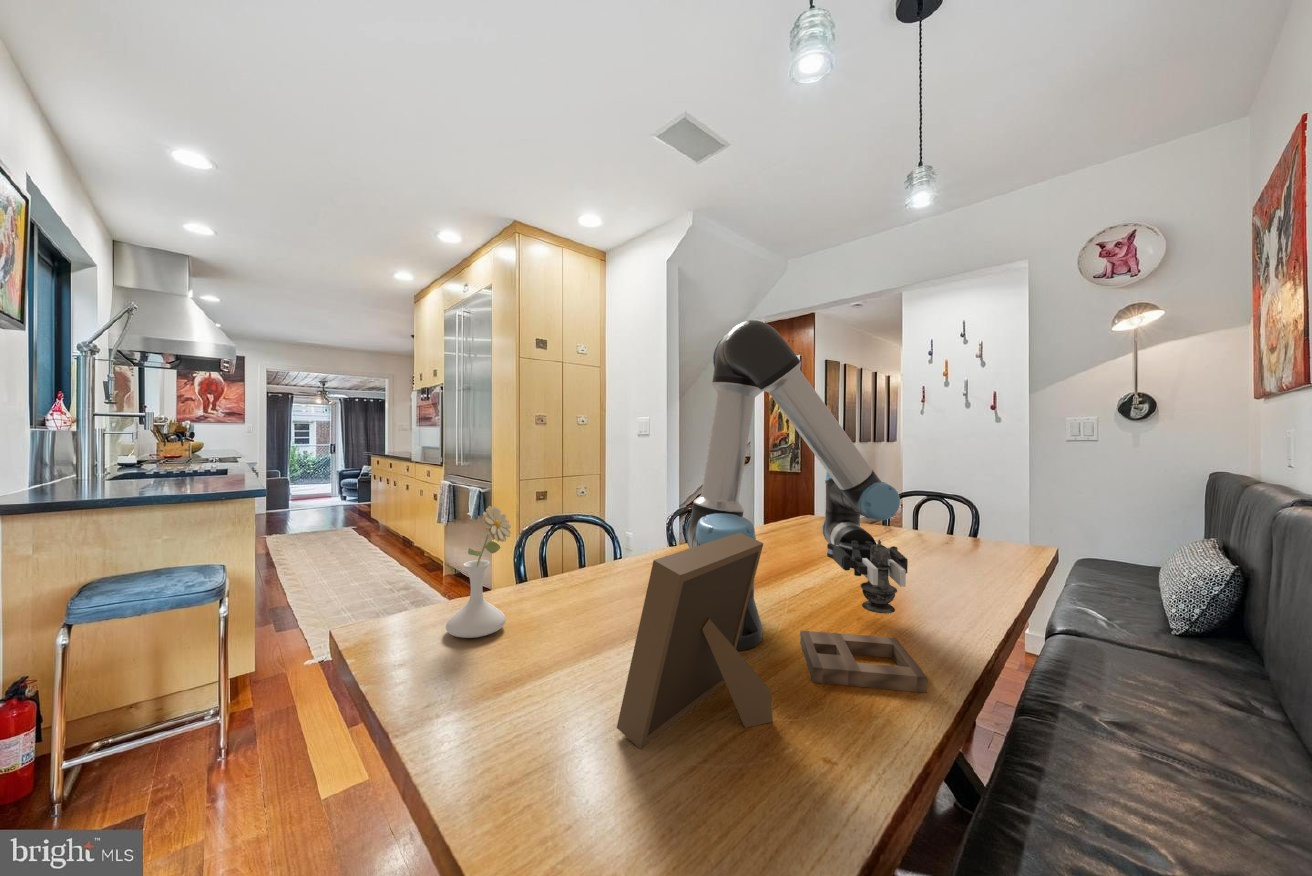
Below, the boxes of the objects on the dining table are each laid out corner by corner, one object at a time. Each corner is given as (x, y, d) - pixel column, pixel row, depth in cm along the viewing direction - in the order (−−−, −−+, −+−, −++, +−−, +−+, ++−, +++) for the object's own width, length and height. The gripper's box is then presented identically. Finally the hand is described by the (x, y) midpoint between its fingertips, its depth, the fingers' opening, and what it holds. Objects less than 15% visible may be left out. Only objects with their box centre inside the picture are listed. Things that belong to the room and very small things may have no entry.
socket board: (812, 682, 79) (813, 667, 79) (800, 643, 93) (800, 630, 93) (926, 692, 76) (927, 677, 76) (895, 650, 90) (896, 637, 90)
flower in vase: (466, 649, 89) (466, 515, 88) (434, 633, 95) (434, 508, 95) (524, 626, 99) (525, 506, 98) (491, 613, 106) (492, 500, 105)
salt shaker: (903, 614, 81) (904, 544, 81) (868, 614, 81) (869, 543, 81) (887, 601, 87) (888, 536, 87) (854, 601, 87) (855, 535, 87)
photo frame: (616, 735, 65) (621, 551, 64) (705, 672, 81) (710, 527, 81) (708, 790, 55) (715, 576, 54) (788, 707, 72) (794, 542, 71)
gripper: (894, 562, 100) (943, 603, 77) (811, 559, 103) (835, 597, 80) (894, 527, 100) (944, 557, 77) (812, 524, 103) (836, 552, 80)
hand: (889, 577), depth 78 cm, fingers closed on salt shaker, 4 cm apart
